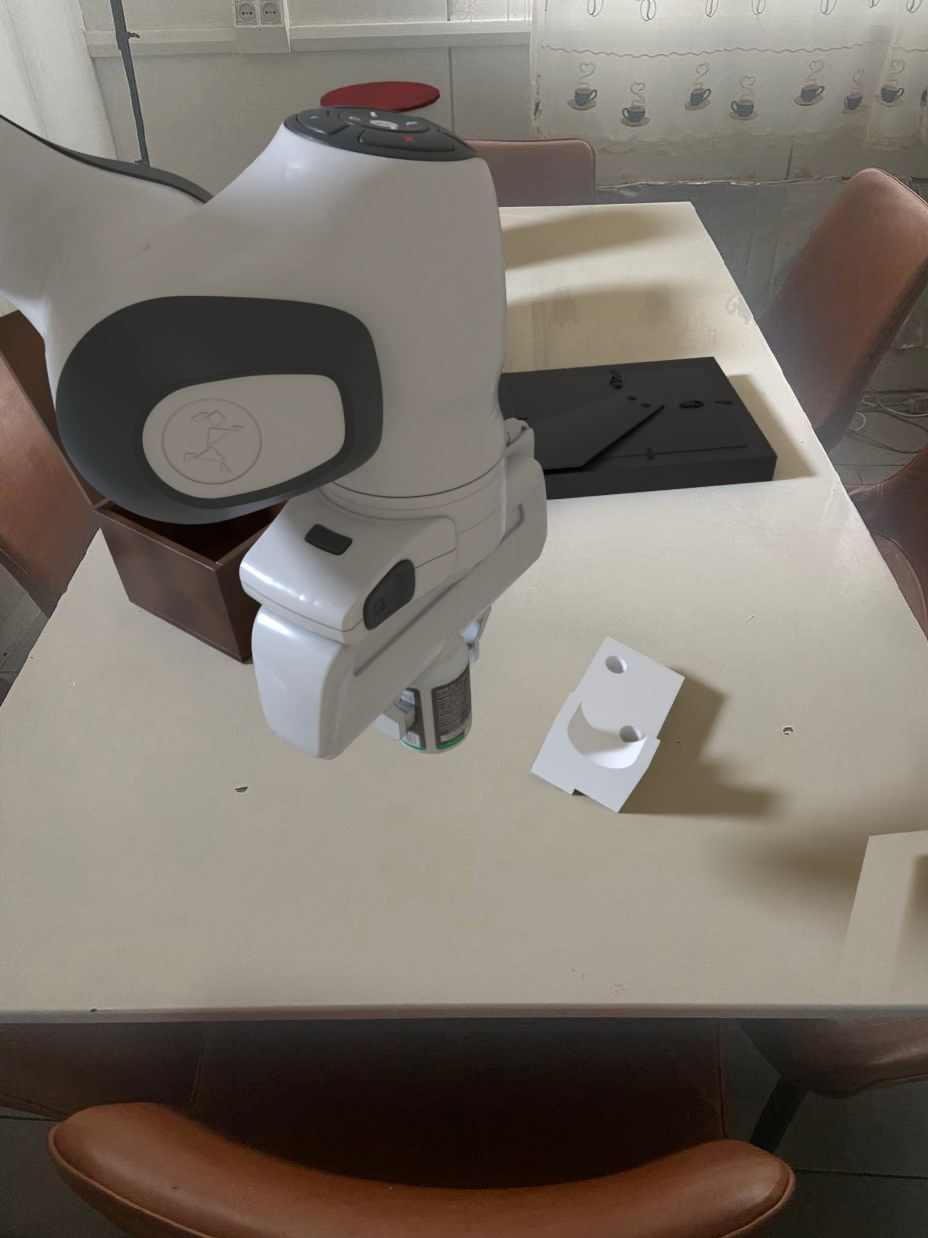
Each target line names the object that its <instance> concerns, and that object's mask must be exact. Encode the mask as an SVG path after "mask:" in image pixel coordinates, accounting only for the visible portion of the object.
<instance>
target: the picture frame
mask: <svg viewBox="0 0 928 1238" xmlns="http://www.w3.org/2000/svg"><path fill="white" fill-rule="evenodd" d="M498 402H499V406H500V410H501V413H502V415H503V418H504V421H505V420H507V419H510V418H516V419H518V420H522V421H525V422H526V423H527V424H528V425H529V427H530V428H532V429H533V432H534V459H535V460H536V461H538V462H539V464H540V465H541V467H542V470H543V474H544V479H545V488H546V501H547V500H556V499H567V498H568V499H570V498H581V497H593V496H604V495H605V496H606V495H616V494H627V493H628V494H630V493H641V492H651V491H652V492H653V491H663V490H675V489H686V488H688V489H689V488H697V487H698V488H700V487H711V486H721V485H733V484H734V485H735V484H745V483H756V482H769V481H773V479H774V475H775V470H776V466H777V461H778V457H779V456H778V454H777V453H776V451H775V450H774V448H773V446H772V444H771V443H770V442H769V440H768V439H767V437H766V436H765V434H764V432H763V431H762V429H761V428H760V426H759V425H758V423H757V421H756V420H755V418H754V417H753V415H752V414H751V412H750V411H749V409H748V407H747V406H746V405H745V403H744V401H743V400H742V399H741V397H740V395H739V394H738V392H737V390H736V389H735V387H734V386H733V384H732V382H731V381H730V380H729V378H728V376H727V375H726V373H725V371H724V370H723V369H722V367H721V365H720V364H719V363H718V361H717V359H716V358H715V356H713V355H711V356H701V357H700V356H699V357H686V358H674V359H663V360H651V361H650V360H649V361H638V362H637V361H636V362H624V363H623V362H622V363H611V364H599V365H588V366H587V365H586V366H575V367H564V368H563V367H562V368H550V369H549V368H548V369H538V370H526V371H525V370H524V371H513V372H512V371H511V372H501V375H500V379H499V383H498Z"/></svg>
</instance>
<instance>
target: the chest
mask: <svg viewBox="0 0 928 1238" xmlns="http://www.w3.org/2000/svg"><path fill="white" fill-rule="evenodd" d="M288 501H289V499H288V500H285V501H283V502H280V503H277V504H275V505H272V506H269V507H266V508H263V509H260V510H257V511H254V512H251V513H248V514H245V515H242V516H239V517H236V518H232V519H228V520H224V521H220V522H214V523H205V524H178V523H169V522H164V521H159V520H154V519H151V518H147V517H144V516H141V515H138V514H136V513H133V512H131V511H129V510H127V509H125V508H123V507H121V506H119V505H117V504H116V503H114V502H112V501H111V500H108V501H106V502H105V503H103V504H102V505H99V506H98V507H97V508H95V509H93V513H94V515H95V519H96V521H97V523H98V526H99V528H100V531H101V534H102V536H103V538H104V541H105V544H106V546H107V548H108V550H109V553H110V556H111V559H112V561H113V563H114V566H115V568H116V569H115V570H116V571H117V574H118V576H119V578H120V580H121V583H122V584H121V585H122V586H123V590H124V592H125V594H126V596H127V598H128V600H129V602H130V603H132V604H134V605H135V606H137V607H139V608H141V609H142V610H144V611H147V612H148V613H150V614H152V615H154V616H155V617H157V618H159V619H161V620H162V621H164V622H166V623H168V624H170V625H171V626H174V627H175V628H177V629H179V630H181V631H182V632H184V633H186V634H188V635H190V636H192V637H193V638H195V639H197V640H199V641H201V642H202V643H204V644H206V645H208V646H210V647H211V648H213V649H215V650H217V651H219V652H221V653H222V654H223V655H226V656H228V657H229V658H231V659H232V660H235V661H236V662H239V663H241V664H245V663H246V662H248V661H249V660H250V659H251V658H253V655H252V630H253V625H254V622H255V618H256V616H257V613H258V611H259V609H260V607H261V606H262V604H261V603H259V602H258V601H256V600H255V599H254V598H252V597H251V596H249V595H248V594H247V593H246V592H245V591H244V589H243V586H242V583H241V580H240V574H239V570H240V565H241V562H242V560H243V558H244V557H245V555H246V554H247V552H248V551H249V550H250V549H251V547H252V546H253V545H254V544H255V543H256V542H257V540H258V539H259V538H260V537H261V536H262V534H263V533H264V532H265V531H266V530H267V528H268V527H269V526H270V525H271V523H272V522H273V521H274V520H275V518H276V517H277V516H278V515H279V513H280V512H281V510H282V509H283V508H284V506H285V505H286V504H287V502H288Z"/></svg>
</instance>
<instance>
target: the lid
mask: <svg viewBox="0 0 928 1238" xmlns="http://www.w3.org/2000/svg"><path fill="white" fill-rule="evenodd" d="M0 358H1V360H2V362H3V364H4V365H5V367H6V368H7V370H8V372H9V373H10V375H11V377H12V379H13V381H14V382H15V384H16V386H17V387H18V389H19V390H20V392H21V393H22V395H23V397H24V399H25V400H26V402H27V404H28V405H29V407H30V409H31V410H32V412H33V414H34V415H35V417H36V419H37V420H38V422H39V424H40V426H41V427H42V429H43V430H44V432H45V434H46V436H47V438H48V439H49V441H50V442H51V444H52V445H53V447H54V449H55V451H56V452H57V454H58V456H59V457H60V460H62V462H63V464H64V465H65V467H66V469H67V471H68V472H69V474H70V475H71V477H72V479H73V481H74V482H75V484H76V486H77V487H78V489H79V491H80V492H81V494H82V495H83V498H84V499H85V501H86V503H87V504H88V506H93V507H94V506H96V505H97V504H99V503H101V502H102V501H105V500H106V499H107V498H106V497H105V496H104V495H102V494H101V493H100V492H99V491H97V490H96V489H95V488H94V487H93V486H92V485H91V484H90V483H89V482H88V481H87V480H86V479H85V478H84V477H83V476H82V475H81V474H80V472H79V471H78V470H77V468H76V467H75V465H74V464H73V462H72V461H71V459H70V457H69V456H68V454H67V452H66V450H65V447H64V445H63V443H62V440H61V437H60V434H59V430H58V426H57V420H56V412H55V408H54V403H53V398H52V393H51V388H50V383H49V377H48V372H47V364H46V356H45V342H44V339H43V337H42V336H41V335H40V333H39V332H38V330H37V329H36V328H35V327H34V326H33V324H32V323H31V322H30V321H29V320H28V319H27V317H26V316H25V315H24V314H23V313H22V312H21V311H20V310H19V309H18V308H17V309H15V310H13V311H11V312H8V313H6V314H3V315H1V316H0Z"/></svg>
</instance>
